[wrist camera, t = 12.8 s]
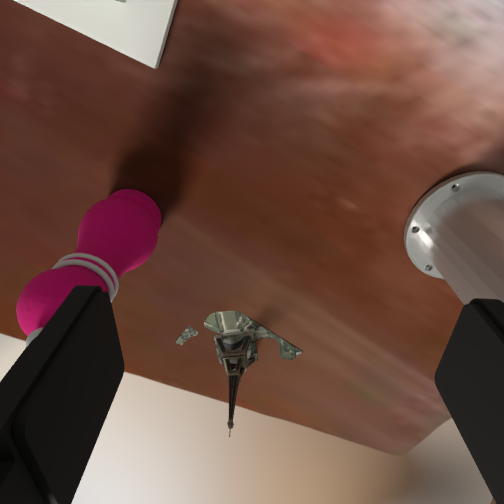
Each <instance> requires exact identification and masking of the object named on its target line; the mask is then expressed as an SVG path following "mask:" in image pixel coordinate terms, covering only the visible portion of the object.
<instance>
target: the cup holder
mask: <svg viewBox="0 0 504 504" xmlns="http://www.w3.org/2000/svg"><path fill="white" fill-rule="evenodd" d="M14 1H17V2H19V3H21V4H23V5H25V6H27V7H29V8H31V9H33V10H35V11H37V12H39V13H41V14H43V15H45V16H47V17H49V18H51V19H53V20H56V21H58V22H60V23H62V24H64V25H66V26H68V27H70V28H72V29H74V30H76V31H78V32H80V33H82V34H84V35H86V36H88V37H90V38H93V39H95V40H97V41H99V42H101V43H103V44H105V45H107V46H109V47H111V48H113V49H115V50H117V51H119V52H121V53H123V54H125V55H127V56H129V57H132V58H134V59H136V60H138V61H140V62H142V63H144V64H146V65H148V66H150V67H152V68H154V69H156V68H158V67H159V63H160V60H161V56H162V53H163V49H164V46H165V43H166V39H167V36H168V32H169V29H170V25H171V22H172V18H173V15H174V11H175V8H176V4H177V1H178V0H14Z"/></svg>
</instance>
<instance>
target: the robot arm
mask: <svg viewBox="0 0 504 504" xmlns="http://www.w3.org/2000/svg"><path fill="white" fill-rule="evenodd" d="M404 246H405V249H406V252H407V254H408V256H409V257H410V259H411V261H412V262H413V263H414V264H415V265H416V267H417V268H418V269H420V270H421V271H422V272H424V273H426V274H428V275H430V276H433V277H437V278H442V279H445V280H446V282H447V283H448V284H449V285H450V287H451V288H452V289H453V291H454V292H455V293H456V294H457V296H458V297H459V298H460V300H461V301H462V302H463V303H464V307H463V309H462V311H461V313H460V316H459V318H458V320H457V323H456V325H455V328H454V330H453V332H452V335H451V337H450V339H449V342H448V344H447V347H446V349H445V351H444V354H443V356H442V358H441V361H440V363H439V366H438V368H437V370H436V373H435V384H436V387H437V389H438V391H439V393H440V395H441V397H442V399H443V401H444V403H445V405H446V407H447V408H448V410H449V412H450V414H451V416H452V418H453V420H454V422H455V424H456V426H457V428H458V430H459V432H460V434H461V436H462V437H463V440H464V441H465V443H466V445H467V447H468V449H469V451H470V453H471V455H472V457H473V459H474V461H475V463H476V465H477V467H478V469H479V471H480V473H481V474H482V476H483V478H484V480H485V482H486V484H487V486H488V488H489V490H490V492H491V494H492V496H493V499H492V502H491V504H504V175H502V174H498V173H494V172H490V171H475V172H468V173H463V174H460V175H457V176H454V177H451V178H449V179H447V180H445V181H443V182H441V183H440V184H438V185H437V186H435V187H434V188H432V189H431V190H430V191H429V192H428V193H426V194H425V195H424V196H423V197H422V198H421V199H420V200H419V202H418V203H417V204H416V205H415V207H414V208H413V210H412V212H411V213H410V215H409V217H408V219H407V223H406V226H405V230H404ZM123 373H124V360H123V355H122V351H121V346H120V342H119V337H118V332H117V328H116V323H115V319H114V314H113V309H112V305H111V300H110V296H109V293H108V292H103V290H102V288H101V287H100V286H89V285H77V286H75V287H74V288H73V289H72V291H71V292H70V293H69V295H68V296H67V297H66V298H65V300H64V301H63V302H62V304H61V305H60V306H59V308H58V309H57V310H56V312H55V313H54V314H53V316H52V317H51V318H50V320H49V321H48V322H47V324H46V325H45V326H44V328H43V329H42V330H41V332H40V333H39V334H38V336H37V337H35V338H34V339H33V340H32V341H31V342H30V343H29V345H28V346H27V347H26V349H25V350H24V351H23V353H22V354H21V355H20V357H19V358H18V359H17V361H16V362H15V364H14V365H13V366H12V367H11V369H10V370H9V371H8V373H7V374H6V375H5V376H4V378H3V379H2V380H1V382H0V504H71V503H72V500H73V498H74V495H75V493H76V490H77V488H78V485H79V483H80V480H81V478H82V476H83V473H84V471H85V468H86V466H87V463H88V460H89V458H90V456H91V453H92V451H93V448H94V446H95V444H96V441H97V438H98V436H99V434H100V431H101V429H102V426H103V423H104V421H105V419H106V416H107V414H108V411H109V409H110V406H111V404H112V402H113V399H114V397H115V394H116V392H117V389H118V387H119V384H120V382H121V379H122V377H123Z"/></svg>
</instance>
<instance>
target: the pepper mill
mask: <svg viewBox="0 0 504 504" xmlns="http://www.w3.org/2000/svg"><path fill="white" fill-rule="evenodd" d="M161 221H162V218H161V213H160V210H159V208H158V206H157V204H156V203H155V202H154V200H153V199H152V198H150V197H149V196H148V195H146V194H145V193H143V192H140V191H138V190H134V189H122V190H118V191H116V192H114V193H112V194H111V195H110V196H109V197H108V198H107V199H105V200H102V201H100V202H98V203H96V204H94V205H93V206H92V207H91V208H90V209H89V210H88V211H87V213H86V214H85V216H84V217H83V219H82V221H81V224H80V227H79V231H78V246H77V249H76V251H75V252H74V254H69V255H67V256H65V257H63V258H61V259H60V260H59V261H58V262H57V264H56V265H55V266H54V267H53V268H52V269H50V270H48V271H45V272H42V273H40V274H39V275H37V276H36V277H34V278H33V279H32V280H31V281H30V282H29V283H28V284H27V285H26V286H25V288H24V289H23V291H22V293H21V295H20V297H19V299H18V303H17V309H16V310H17V318H18V322H19V324H20V327H21V328H22V330H23V331H24V333H25V334H26V335H27V336H28V337H27V340H26V347H27V346H28V345H29V343H30V342H31V341H32V340H33V339H34V338H35V337H37V336H38V334H39V333H40V332H41V330H42V329H43V328H44V326H45V325H46V324H47V322H48V321H49V320H50V318H51V317H52V316H53V314H54V313H55V312H56V310H57V309H58V308H59V306H60V305H61V304H62V302H63V301H64V300H65V298H66V297H67V296H68V295H69V293H70V292H71V291H72V289H73V288H74V287H75V286H77V285H89V286H100V287H101V288H102V290H103V292H108V293H109V296H110V300H111V302H112V301H113V298H114V297H115V295H116V294H117V291H118V285H119V284H118V279H119V278H120V276H121V275H122V274H123V273H125V272H127V271H130V270H132V269H134V268H136V267H138V266H140V265H141V264H142V263H144V262H145V261H146V260H147V259H148V258H149V257H150V255H151V254H152V252H153V251H154V249H155V247H156V243H157V238H158V236H157V233H158V231H159V229H160V226H161Z"/></svg>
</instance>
